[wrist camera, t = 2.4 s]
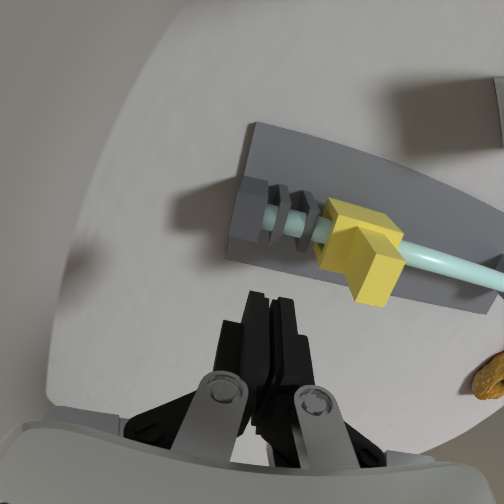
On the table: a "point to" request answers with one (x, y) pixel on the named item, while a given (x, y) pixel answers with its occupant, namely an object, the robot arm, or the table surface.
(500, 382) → the bagel
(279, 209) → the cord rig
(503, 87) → the supplement box
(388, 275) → the sleeve
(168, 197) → the table surface
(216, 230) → the table surface
